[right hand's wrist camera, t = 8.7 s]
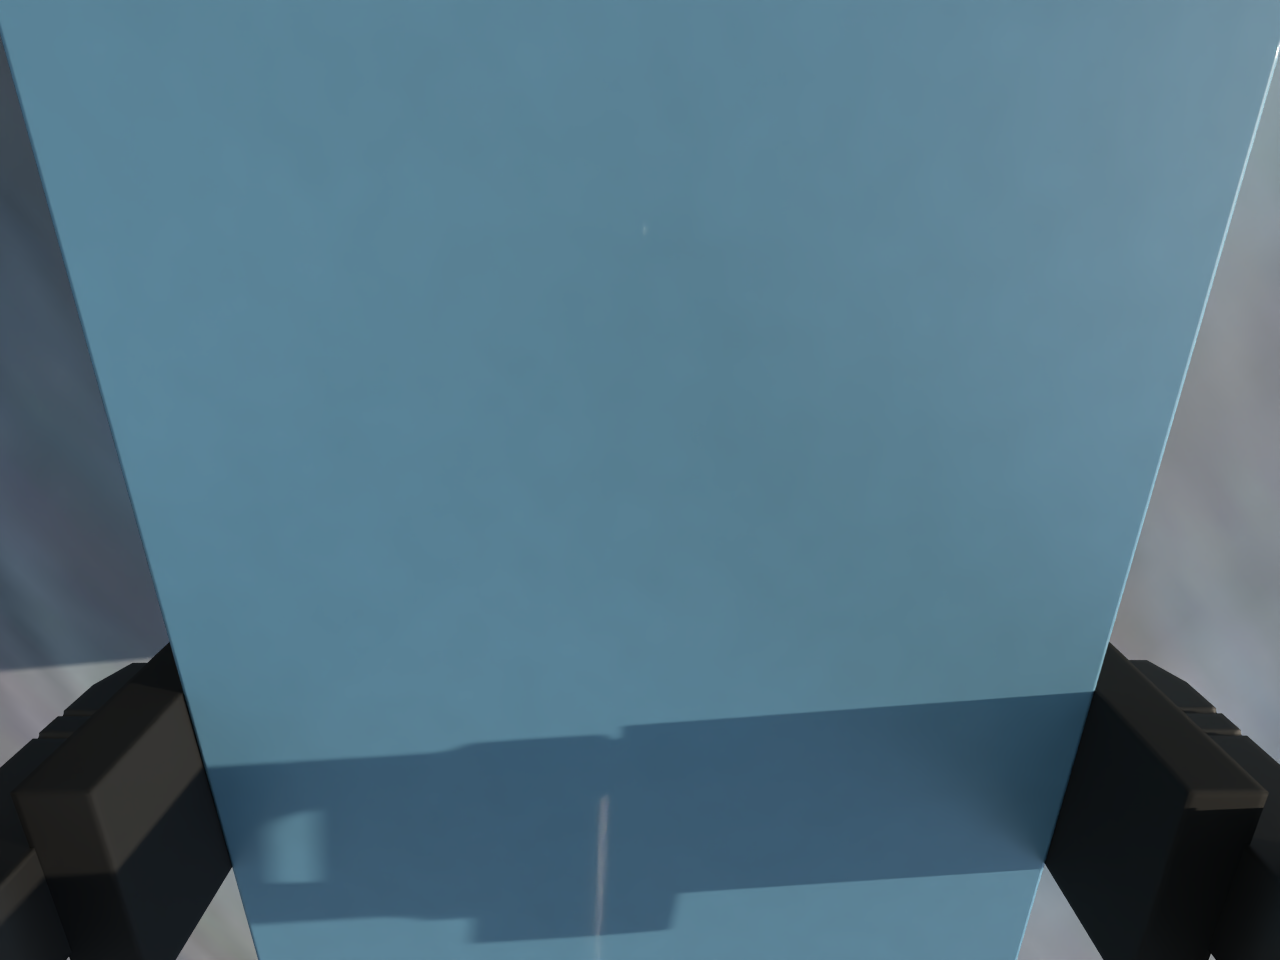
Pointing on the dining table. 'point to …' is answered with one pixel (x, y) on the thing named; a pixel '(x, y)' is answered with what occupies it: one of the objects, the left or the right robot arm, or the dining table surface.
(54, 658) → the dining table surface
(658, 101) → the cabinet
